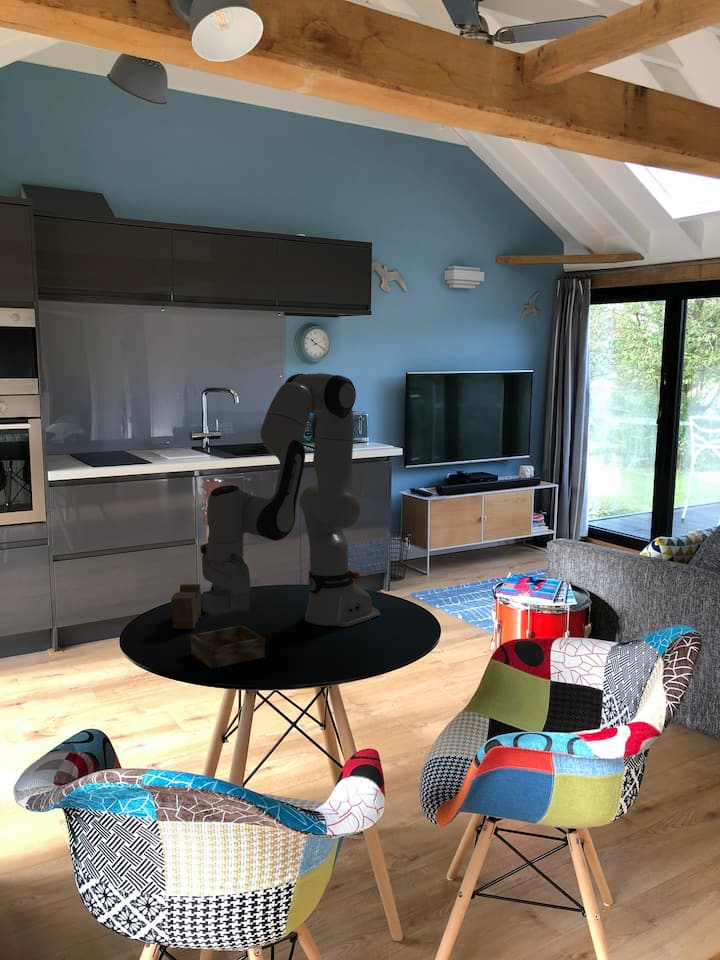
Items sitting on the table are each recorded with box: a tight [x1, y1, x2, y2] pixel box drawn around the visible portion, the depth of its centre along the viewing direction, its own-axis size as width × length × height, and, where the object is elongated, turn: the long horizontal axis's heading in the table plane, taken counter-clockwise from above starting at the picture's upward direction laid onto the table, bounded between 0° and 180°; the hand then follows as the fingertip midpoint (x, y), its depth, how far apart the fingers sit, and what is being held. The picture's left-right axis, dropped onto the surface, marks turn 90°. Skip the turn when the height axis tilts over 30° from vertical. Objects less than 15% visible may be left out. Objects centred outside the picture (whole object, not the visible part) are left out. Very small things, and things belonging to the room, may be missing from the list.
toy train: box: [170, 583, 203, 630], centre depth 234 cm, size 6×17×10 cm, turn 2°
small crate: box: [202, 589, 250, 618], centre depth 207 cm, size 10×6×5 cm, turn 125°
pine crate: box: [189, 624, 267, 669], centre depth 209 cm, size 15×13×5 cm
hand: (226, 604), depth 207 cm, fingers closed on small crate, 6 cm apart
